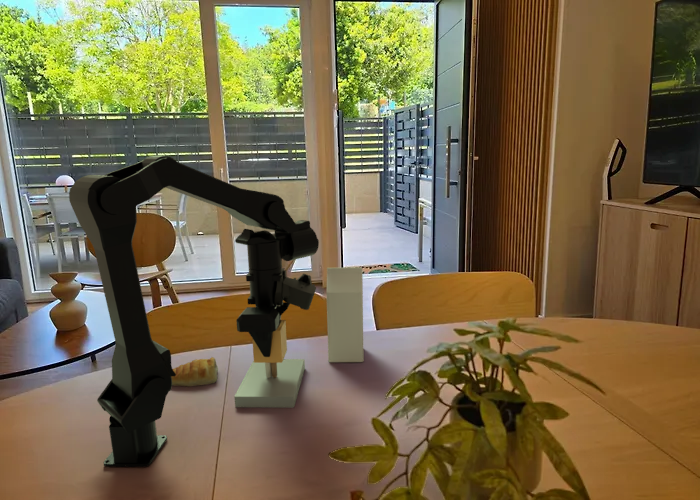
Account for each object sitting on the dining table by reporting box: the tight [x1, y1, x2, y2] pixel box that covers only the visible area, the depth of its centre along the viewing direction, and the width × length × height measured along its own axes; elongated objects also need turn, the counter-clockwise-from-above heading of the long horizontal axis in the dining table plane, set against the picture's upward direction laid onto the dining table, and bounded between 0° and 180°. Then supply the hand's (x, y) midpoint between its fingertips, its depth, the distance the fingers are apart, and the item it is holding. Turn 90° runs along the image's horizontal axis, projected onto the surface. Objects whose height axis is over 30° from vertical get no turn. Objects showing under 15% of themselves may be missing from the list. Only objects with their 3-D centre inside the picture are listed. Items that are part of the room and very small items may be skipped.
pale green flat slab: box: [234, 358, 306, 408], centre depth 84 cm, size 14×10×7 cm
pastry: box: [171, 356, 219, 388], centre depth 88 cm, size 9×7×4 cm
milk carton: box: [325, 267, 364, 363], centre depth 95 cm, size 7×7×19 cm
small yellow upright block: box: [251, 319, 288, 363], centre depth 82 cm, size 5×5×6 cm
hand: (270, 350), depth 83 cm, fingers closed on small yellow upright block, 5 cm apart
